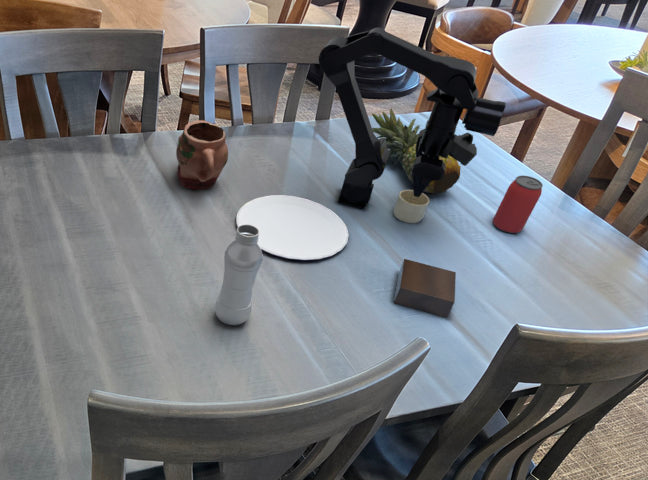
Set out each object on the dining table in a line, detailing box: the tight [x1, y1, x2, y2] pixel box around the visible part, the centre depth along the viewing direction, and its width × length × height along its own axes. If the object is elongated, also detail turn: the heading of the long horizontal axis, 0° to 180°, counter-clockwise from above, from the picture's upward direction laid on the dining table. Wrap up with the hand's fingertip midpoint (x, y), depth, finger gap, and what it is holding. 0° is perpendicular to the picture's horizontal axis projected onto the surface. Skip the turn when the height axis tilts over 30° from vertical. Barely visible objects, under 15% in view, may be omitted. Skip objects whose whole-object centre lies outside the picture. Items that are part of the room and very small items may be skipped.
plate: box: [235, 194, 349, 261], centre depth 141 cm, size 25×25×1 cm
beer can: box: [492, 175, 544, 234], centre depth 143 cm, size 7×7×12 cm
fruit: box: [371, 107, 462, 195], centre depth 162 cm, size 14×12×30 cm
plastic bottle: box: [214, 225, 264, 326], centre depth 111 cm, size 6×7×20 cm
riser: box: [393, 258, 457, 318], centre depth 125 cm, size 10×10×4 cm
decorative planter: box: [175, 119, 229, 190], centre depth 150 cm, size 20×12×14 cm, turn 13°
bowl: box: [393, 189, 431, 224], centre depth 147 cm, size 7×7×5 cm
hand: (417, 186), depth 143 cm, fingers open, 9 cm apart
